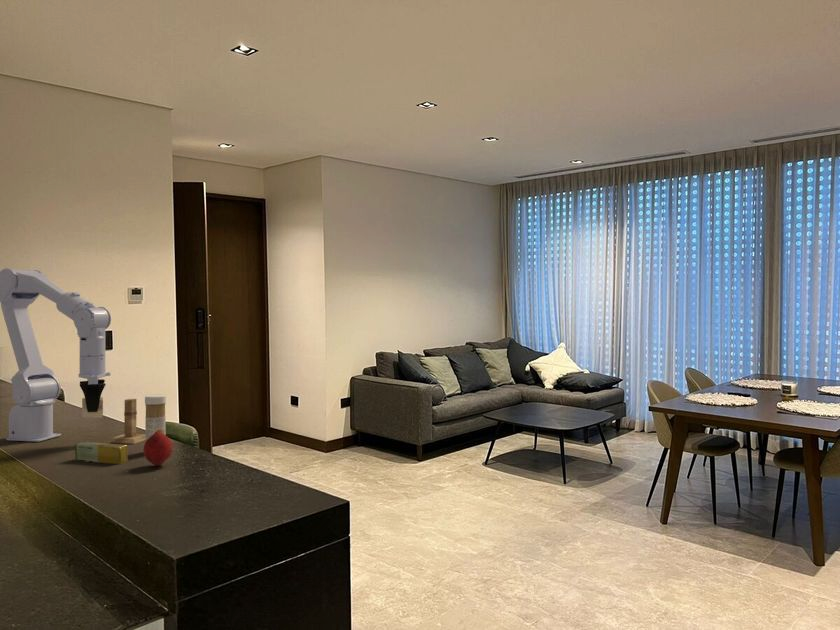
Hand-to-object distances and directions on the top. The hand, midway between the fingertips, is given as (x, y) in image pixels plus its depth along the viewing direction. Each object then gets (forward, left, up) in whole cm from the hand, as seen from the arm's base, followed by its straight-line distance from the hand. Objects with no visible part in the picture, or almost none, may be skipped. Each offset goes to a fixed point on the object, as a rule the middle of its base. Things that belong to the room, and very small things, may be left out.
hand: (92, 410), depth 156 cm
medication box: (+13, -15, -9) cm, 22 cm away
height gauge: (+7, +5, -8) cm, 12 cm away
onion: (+28, -17, -9) cm, 34 cm away
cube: (0, 0, -2) cm, 2 cm away
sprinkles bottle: (+20, -5, -9) cm, 22 cm away
